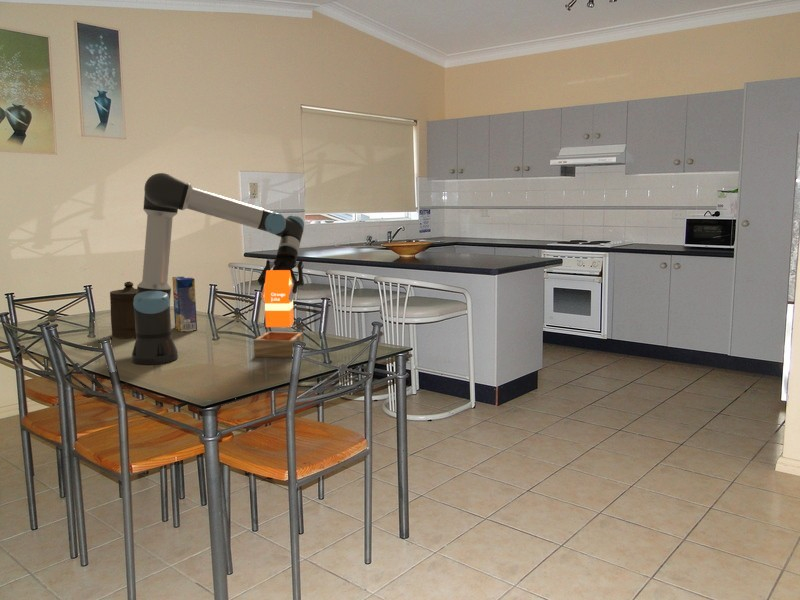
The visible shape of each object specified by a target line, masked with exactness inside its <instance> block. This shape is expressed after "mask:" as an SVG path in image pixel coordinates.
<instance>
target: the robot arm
mask: <svg viewBox="0 0 800 600" xmlns="http://www.w3.org/2000/svg"><path fill="white" fill-rule="evenodd" d="M187 209H188V210H190V211H194V212H197V213H200V214H205V215H207V216H211V217H214V218H218V219H222V220H226V221H228V222H232V223H236V224H240V225H243V226H247V227H250V228H253V229H257V230H260V231H264V232H266V233H267V232H268V233H269V234H272V235H274V236H277V237H279V238H280V240H279V244H278V248H277V252H276V257H275V260H273V261H270V260H269V259H268V260H266V263H265V267H264V268H263V270H262V271H261V273H260V275H259V276H258V279H257V282H258V285H260V286H261V287H260V292H261V294H260V295H261V296H260V298H261V300H262V303H263V302H264V303H265V291H264V287H265V279H266V270H290V273H291V279H292V283H291V287H290V292H289V296H288V299H289V301H290V302H292V299H293V300H294V294H297V292H298V287H299V286H300V287H301V286H302V287H303V286H304V284H305V283H304V273H303V268H304V266H305V265H304V263H303V261H302V260H299V261H297V260H298V254H299V250H300V246H301V241H302V237H303V234H304V230H305V222H304V220H303V219H302V218H301V217H300V216H297V215H293V214H292V215H288V216H287V217H284V216H283V214H282V213H281V212H280V213H279V212H276V211H272V210H269V209H266V208H264V207H260V206H255V205H252V204H249V203H245V202H242V201H239V200H235V199H232V198H229V197H225V196H222V195H218V194H215V193H213V192H208V191H205V190H202V189H199V188H196V187H193V186H192V184H191V183H189V182H185V181H184V180H181V179H178V178H176V177H174V176H172V175H170V174H168V173H164V172H158V173H154V174H152V175H151V176H149V177H148V178H147V180H146V181H145V183H144V197H143V211H144V212H145V214H146V215H147V217H146V228H145V229H146V231H145V241H144V242H145V245H144V252H143V253H144V254H143V265H142V266H143V267H142V268H143V269H142V277H141V278H142V280H141V281H140V282H139V283H137V287H136V289H137V294H136V295H135V297H134V302H133V306H134V313H135V329H136V338H135V343H134V344H133V349H132V353H131V362H132V363H134V364H138V365H159V363H160V364H166V363H170V361H171V362H174V361H176V360H178V358H179V354H178V352H179V350H178V349H177V346H176V344H175V342H174V340H173V337H172V322H171V295H172V287H171V286H170V285H169V284H168V278H169V277H168V276H169V268H170V267H169V266H170V255H171V244H172V243H171V242H172V231H173V230H172V229H173V219H174V217H175V216H176V215H178V210H179V211H185V210H187ZM295 267H297V272H298V273H297V274H298V276H297V277H298V279H297V278H296V276H295V273H294V271H293V269H294V268H295ZM173 360H174V361H173ZM165 362H166V363H165Z"/></svg>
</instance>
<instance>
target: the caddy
mask: <svg viewBox="0 0 800 600" xmlns="http://www.w3.org/2000/svg"><path fill="white" fill-rule="evenodd" d="M304 337H305V335H304V331H303V332H299V331H268V330H267V331H266V332H264V333H262V334H261V335H260V336H257V338H255V339H253V353H254V354H253V356H256V357H259V358H285V357H291V358H292V354H293V346H292V344H293V342H294V341H304V342H305V338H304ZM256 357H255V358H256ZM292 359H293V358H292Z"/></svg>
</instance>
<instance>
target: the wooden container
mask: <svg viewBox="0 0 800 600" xmlns="http://www.w3.org/2000/svg"><path fill="white" fill-rule="evenodd" d="M133 286H134V283H133V282H132V281H126V282H124V288H123V289H114V290H111V291H110V292H109V298H110V302H109V303H110V325H111V336H112V337H113V338H115V337H117V338H116V339H136V329H135V313H134V306H133V302H134V297H135V295H136V294H137V288H134V287H133Z"/></svg>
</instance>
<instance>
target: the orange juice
mask: <svg viewBox="0 0 800 600" xmlns="http://www.w3.org/2000/svg"><path fill="white" fill-rule="evenodd" d="M291 283H293V279H292V277H291V273H290V270H273V269H271V270H266V279H265V287H264V291H265V302H264V313H265V314H264V315H265V328H291V327H292V325H293V324H294V319H295V318H294V317H295V316H294V298H293V299H292V302H290V301H289V299H288V296H289V292H290V287H291Z"/></svg>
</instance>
